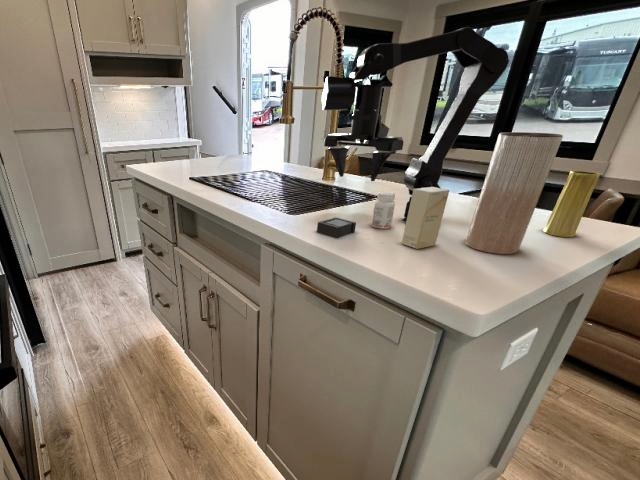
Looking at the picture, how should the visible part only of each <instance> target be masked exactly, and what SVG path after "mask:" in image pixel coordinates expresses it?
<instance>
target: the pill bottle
mask: <svg viewBox="0 0 640 480" xmlns="http://www.w3.org/2000/svg"><path fill="white" fill-rule="evenodd" d="M395 199H396V193H395V192H391V191H379V192H377V200H375V202H374V208H373V211H372V212H373V213H372V218H371V226H372V228H375V229H381V230H386V229H390V228H391V226H392V222H393V217H394V212H395V206H396V202H395Z"/></svg>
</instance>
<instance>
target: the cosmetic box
mask: <svg viewBox="0 0 640 480" xmlns="http://www.w3.org/2000/svg"><path fill="white" fill-rule="evenodd" d="M449 195H450V189H448V188H447V189H446V188H441V187H440V188H436V187H427V188H418V189H413V194H412V195H411V196H412V199H411V203H410V208H409V212H408V216H407V221H405V227H404V231H403V233H402V234H403V235H402V239H401V244H402V245H405V246H407V247H410V248H413V249H417V250H419V249H423V248H424V249H425V248H428V247H433V246H436V243H437V240H438V235H439V232H440V229H441V228H440V227H441V224H442V221H443V216H444V213H445V209H446V205H447V201H448V198H449Z"/></svg>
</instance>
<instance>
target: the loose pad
mask: <svg viewBox="0 0 640 480" xmlns="http://www.w3.org/2000/svg"><path fill="white" fill-rule="evenodd" d="M325 223H327V224H330V225H334V226H337V227H340V234H339V238H340V237H343V236H346V235H350V234H351V226H352V223H349V222H345V221H342V220H338V219H336V220H332V221H329V222H325Z"/></svg>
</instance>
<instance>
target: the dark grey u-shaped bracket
mask: <svg viewBox="0 0 640 480" xmlns="http://www.w3.org/2000/svg"><path fill="white" fill-rule="evenodd" d="M336 219H338V220H342V221H345V222H349V223H352V226H351V233H352V234H354V233H356V226H357V222H356V221H352V220H348V219H344V218H341V217H336V216H334V217H331V218H327V219H324V220H320V221H317V227H316V233H319V234H322V235H326V236H327V237H328V236H329V237H332V238H335V239H338V238H340V237H339V234H340V227H337V226H334V225H330V224H327V223H325V222H329V221H332V220H336ZM351 233H350V234H351Z"/></svg>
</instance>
